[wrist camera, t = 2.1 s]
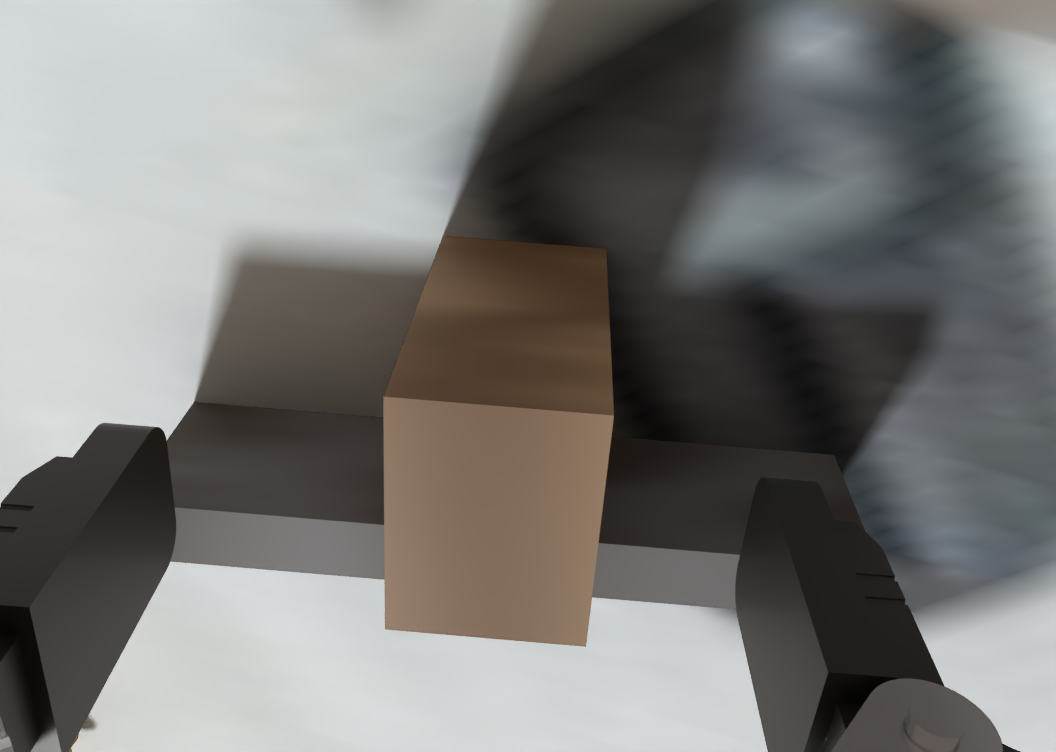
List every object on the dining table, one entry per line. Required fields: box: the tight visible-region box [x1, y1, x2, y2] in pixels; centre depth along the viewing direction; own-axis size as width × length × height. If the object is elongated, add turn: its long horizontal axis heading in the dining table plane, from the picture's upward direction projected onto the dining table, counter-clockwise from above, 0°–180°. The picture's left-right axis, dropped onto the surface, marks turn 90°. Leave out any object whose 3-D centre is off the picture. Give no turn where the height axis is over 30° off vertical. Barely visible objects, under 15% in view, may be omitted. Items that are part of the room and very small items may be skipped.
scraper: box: [167, 236, 865, 647], centre depth 17 cm, size 13×5×6 cm, turn 86°
